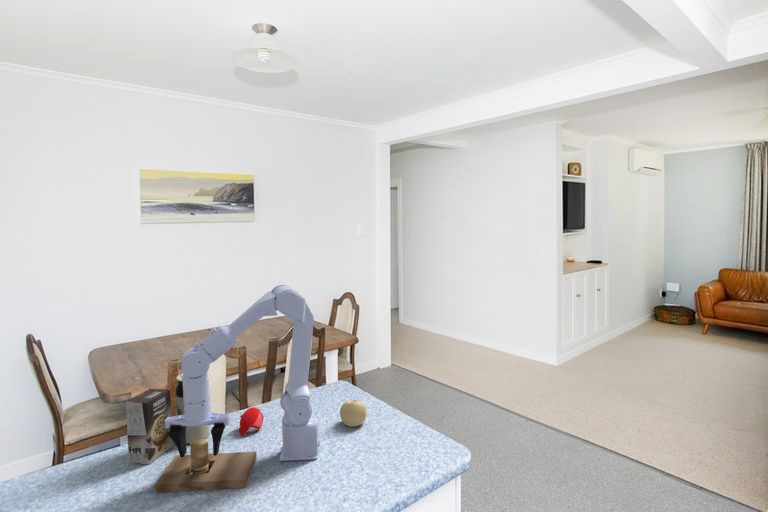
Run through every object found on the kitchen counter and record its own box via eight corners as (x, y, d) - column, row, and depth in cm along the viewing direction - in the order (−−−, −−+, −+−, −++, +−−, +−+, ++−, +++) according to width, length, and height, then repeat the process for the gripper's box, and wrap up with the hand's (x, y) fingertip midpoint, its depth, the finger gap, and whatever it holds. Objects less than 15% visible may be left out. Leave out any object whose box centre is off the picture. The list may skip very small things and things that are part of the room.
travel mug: (208, 428, 128) (205, 368, 127) (210, 440, 121) (207, 377, 120) (178, 434, 125) (175, 373, 123) (178, 447, 118) (175, 382, 116)
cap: (252, 410, 133) (236, 406, 128) (266, 407, 130) (251, 403, 126) (248, 438, 128) (232, 435, 124) (263, 436, 126) (247, 432, 121)
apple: (354, 432, 125) (341, 408, 125) (344, 432, 131) (331, 409, 132) (375, 416, 129) (362, 393, 130) (364, 417, 136) (351, 395, 136)
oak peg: (212, 469, 107) (210, 438, 106) (206, 479, 103) (204, 447, 102) (195, 470, 107) (193, 439, 106) (189, 480, 103) (187, 447, 102)
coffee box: (150, 465, 109) (146, 402, 108) (127, 462, 111) (124, 400, 109) (174, 446, 118) (171, 388, 117) (153, 444, 120) (150, 387, 118)
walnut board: (256, 458, 112) (256, 451, 112) (245, 487, 100) (245, 479, 100) (175, 463, 110) (175, 455, 110) (155, 492, 98) (154, 484, 98)
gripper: (232, 391, 108) (235, 443, 109) (172, 393, 107) (175, 447, 108) (224, 403, 101) (227, 459, 102) (159, 406, 100) (163, 463, 101)
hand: (199, 454), depth 104 cm, fingers open, 7 cm apart
